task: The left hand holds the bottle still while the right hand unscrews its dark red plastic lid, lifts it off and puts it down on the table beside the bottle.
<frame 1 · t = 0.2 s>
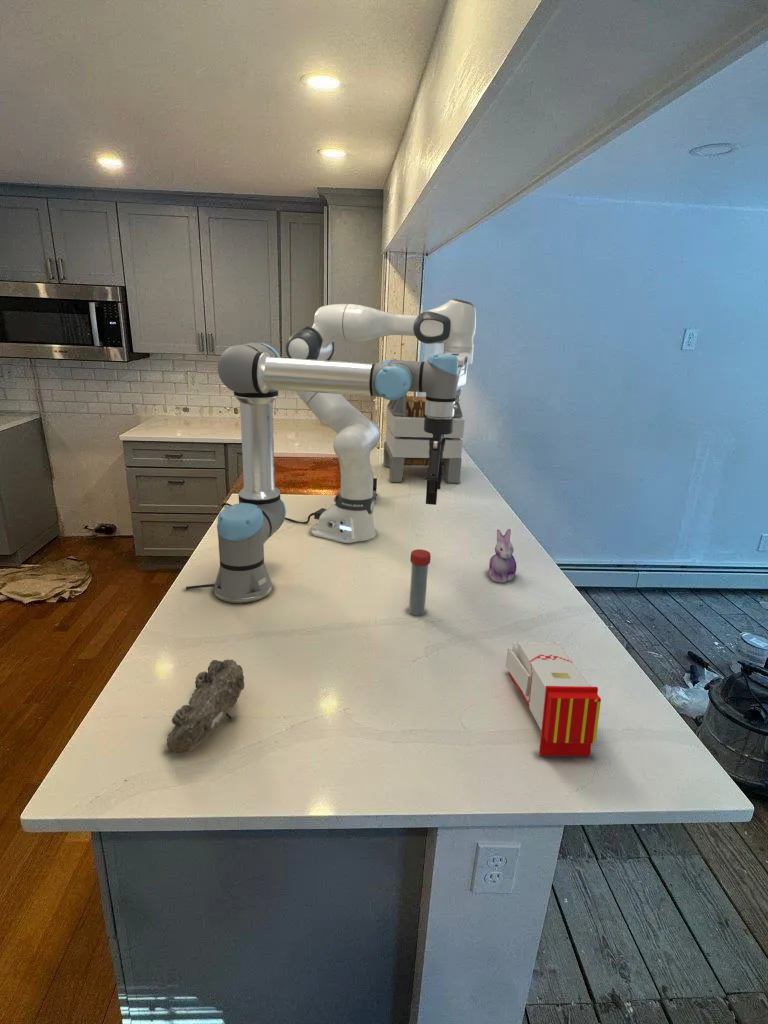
left hand: (433, 496, 152), 28 cm above the counter, tool pointing down, fingers open, 13 cm apart
right hand: (454, 403, 174), 48 cm above the counter, tool pointing down, fingers open, 8 cm apart
lid: (420, 554, 144), point 16 cm above the counter, screwed on, not yet turned
fossil: (212, 717, 108), on the counter
toy: (542, 706, 115), on the counter
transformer: (419, 473, 275), on the counter
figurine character: (368, 499, 234), on the counter
bottle: (416, 611, 149), on the counter
figurine: (501, 576, 171), on the counter
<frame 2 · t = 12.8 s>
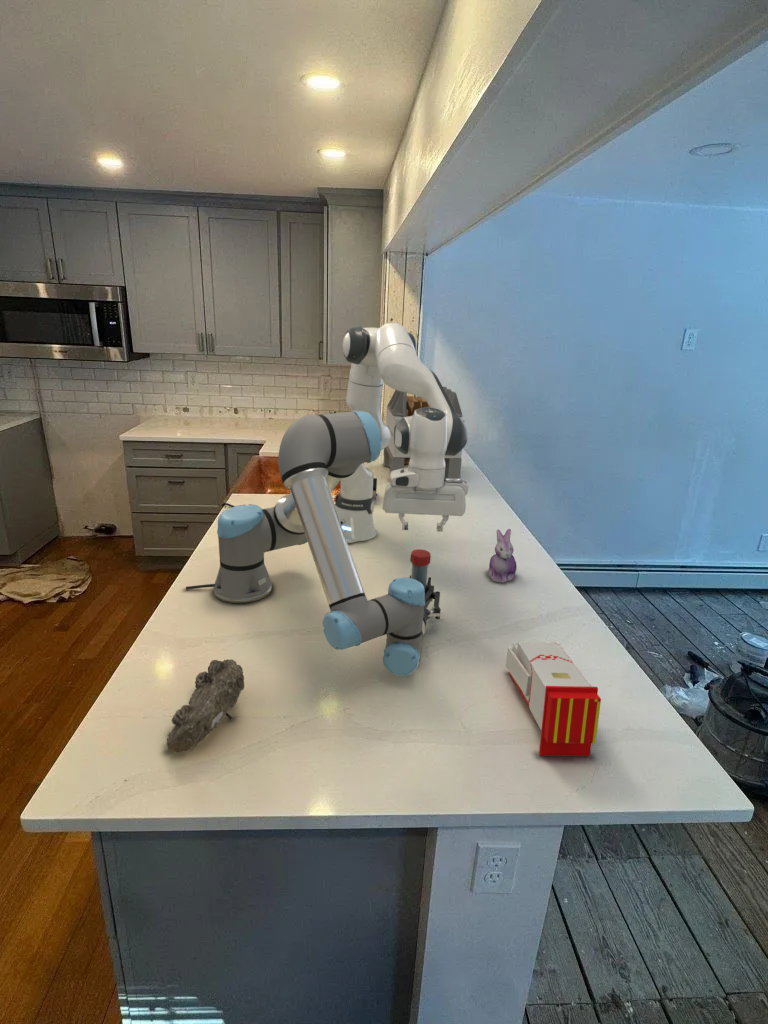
left hand: (420, 580, 152), 6 cm above the counter, tool horizontal, fingers closed on bottle, 4 cm apart
right hand: (422, 530, 141), 23 cm above the counter, tool pointing down, fingers open, 7 cm apart
bottle: (416, 611, 149), on the counter, touching left hand
everything else where it was.
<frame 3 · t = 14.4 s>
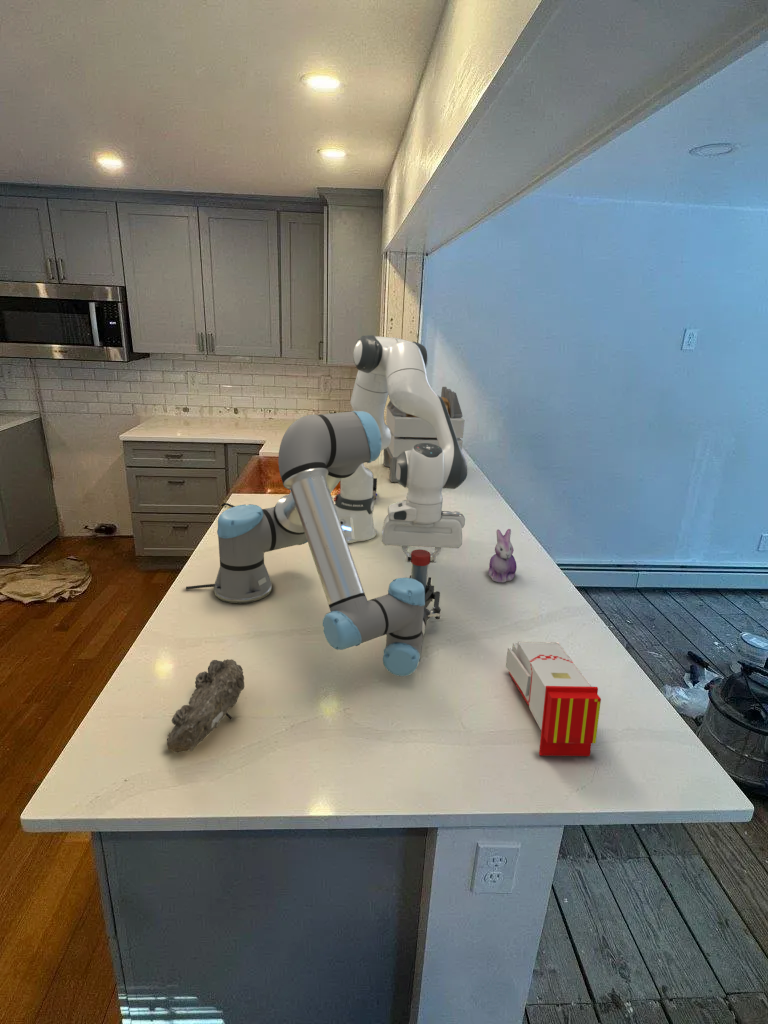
left hand: (420, 580, 152), 6 cm above the counter, tool horizontal, fingers closed on bottle, 4 cm apart
right hand: (420, 561, 144), 15 cm above the counter, tool pointing down, fingers closed on lid, 5 cm apart
lid: (420, 554, 144), point 16 cm above the counter, screwed on, not yet turned, touching right hand
bottle: (416, 611, 149), on the counter, touching left hand
everything else where it was.
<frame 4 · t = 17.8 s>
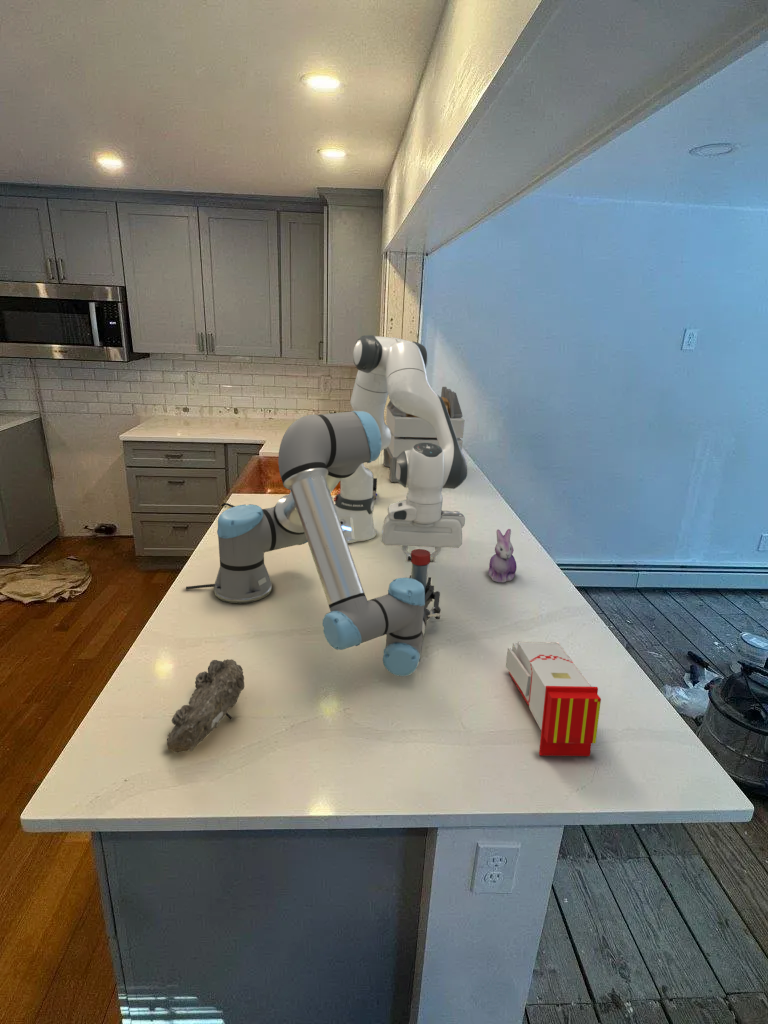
left hand: (420, 580, 152), 6 cm above the counter, tool horizontal, fingers closed on bottle, 4 cm apart
right hand: (420, 561, 144), 15 cm above the counter, tool pointing down, fingers closed on lid, 5 cm apart
lid: (420, 554, 143), point 17 cm above the counter, turned 97° so far, risen 0.1 cm, still on its thread, touching right hand
bottle: (416, 611, 149), on the counter, touching left hand
everything else where it was.
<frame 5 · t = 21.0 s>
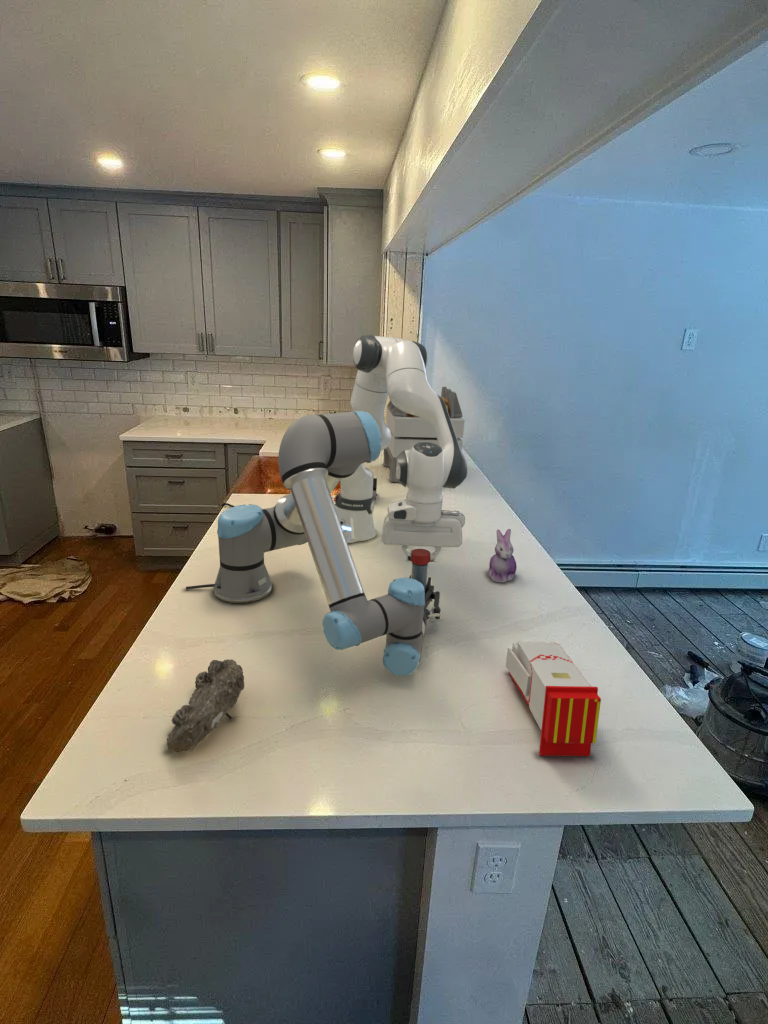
left hand: (420, 580, 152), 6 cm above the counter, tool horizontal, fingers closed on bottle, 4 cm apart
right hand: (420, 560, 144), 15 cm above the counter, tool pointing down, fingers closed on lid, 5 cm apart
lid: (420, 553, 143), point 17 cm above the counter, turned 193° so far, risen 0.2 cm, still on its thread, touching right hand
bottle: (416, 611, 149), on the counter, touching left hand
everything else where it was.
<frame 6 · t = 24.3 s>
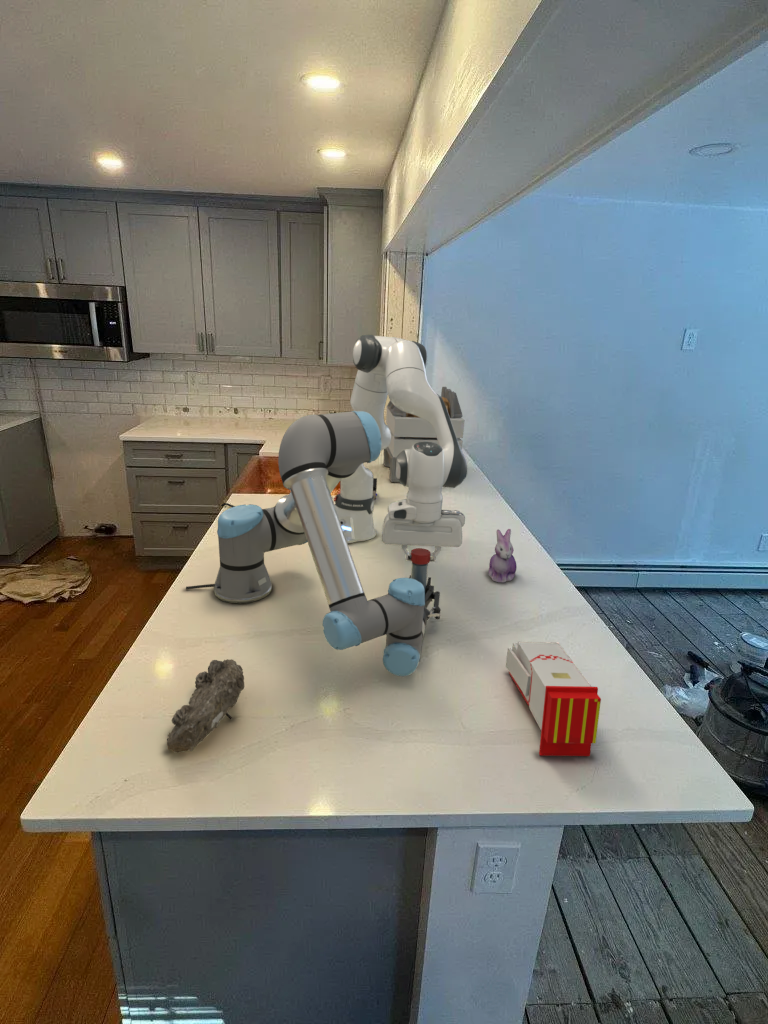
left hand: (420, 580, 152), 6 cm above the counter, tool horizontal, fingers closed on bottle, 4 cm apart
right hand: (420, 560, 144), 15 cm above the counter, tool pointing down, fingers closed on lid, 5 cm apart
lid: (420, 553, 143), point 17 cm above the counter, turned 289° so far, risen 0.3 cm, still on its thread, touching right hand
bottle: (416, 611, 149), on the counter, touching left hand
everything else where it was.
when the right hand's fingers open (2 cm above the counter, at t = 34.1 s): lid drops 2 cm, point 2 cm above the counter.
when the left hand's fingers open (6 cm above the counter, at t = 35.0 s): bottle stays where it is, on the counter.
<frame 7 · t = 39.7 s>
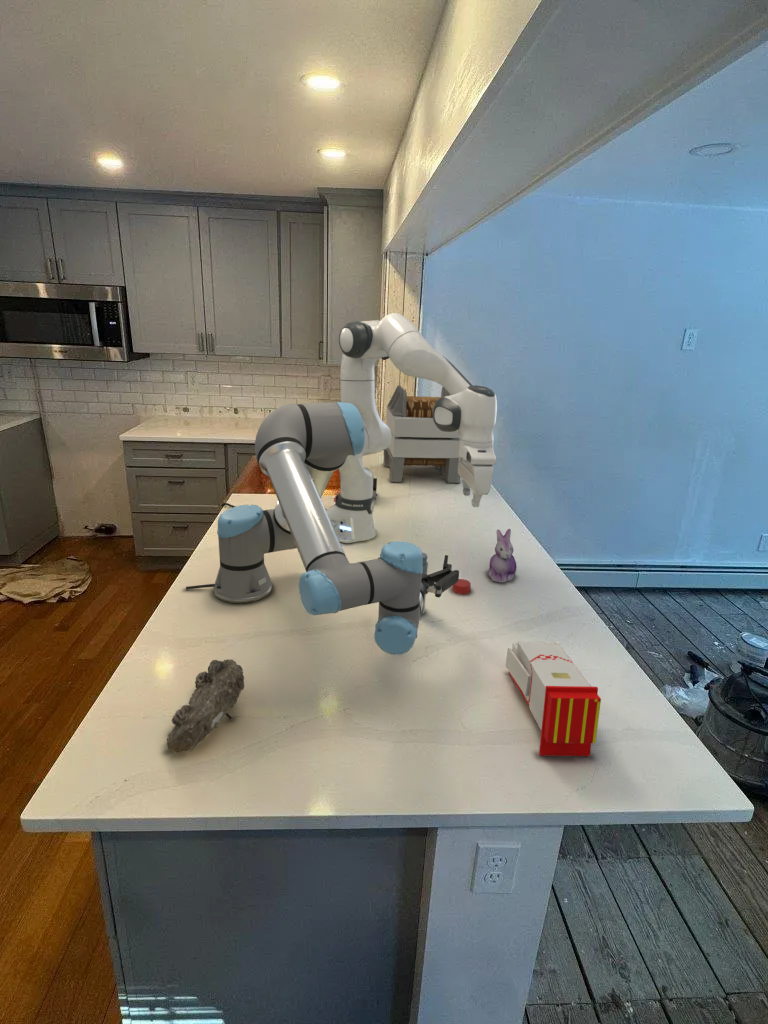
left hand: (417, 557, 134), 20 cm above the counter, tool horizontal, fingers open, 13 cm apart
right hand: (470, 500, 152), 27 cm above the counter, tool pointing down, fingers open, 8 cm apart
lid: (461, 583, 161), point 2 cm above the counter, off its thread
bottle: (416, 611, 149), on the counter
everything else where it was.
at the end: lid came off its thread; lid point 2.1 cm above the counter; the left hand is holding nothing; the right hand is holding nothing; bottle tilted 0°; bottle moved 0.1 cm from its start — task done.
